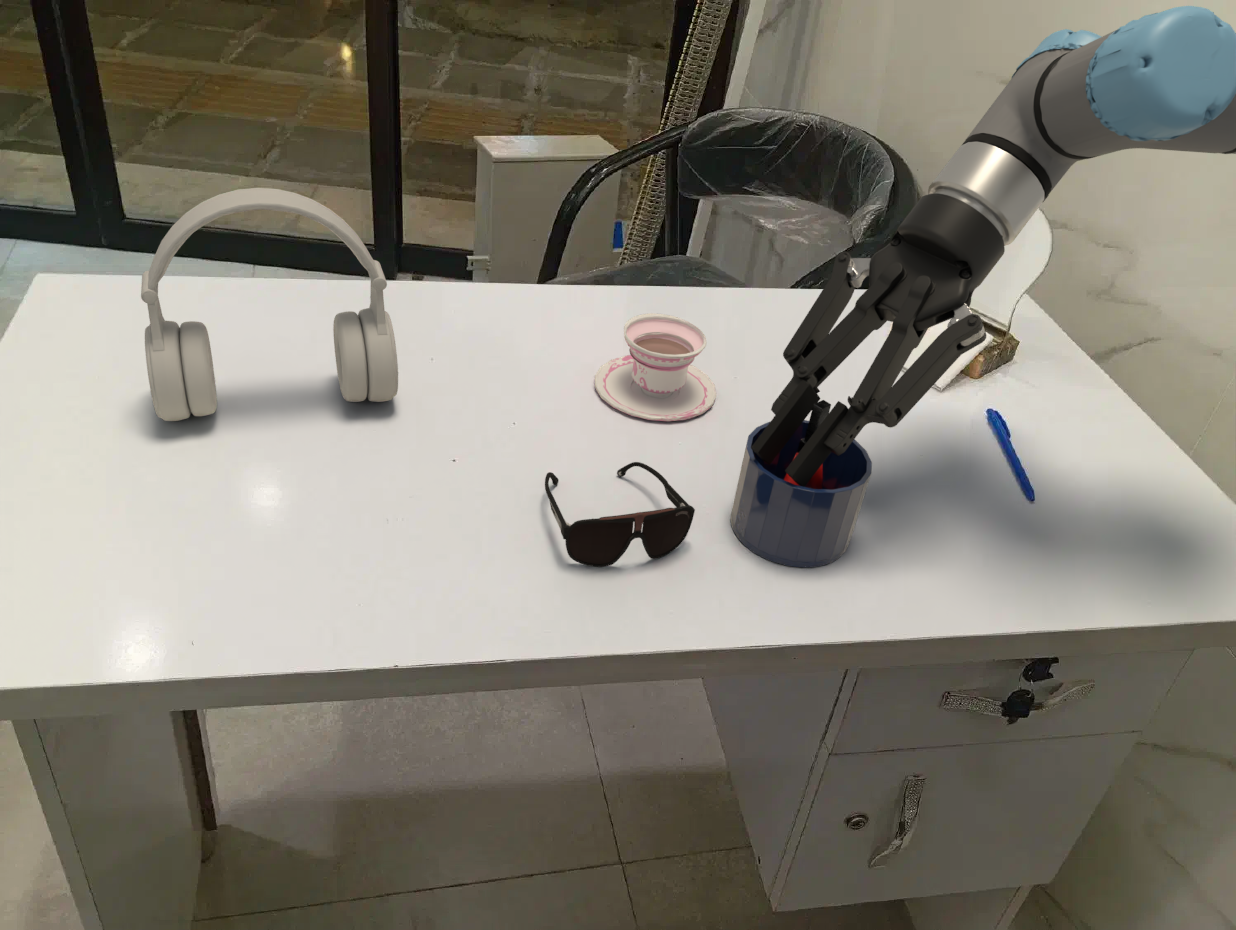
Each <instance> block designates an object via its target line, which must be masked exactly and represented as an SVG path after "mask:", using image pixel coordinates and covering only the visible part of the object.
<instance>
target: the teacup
mask: <svg viewBox="0 0 1236 930" xmlns="http://www.w3.org/2000/svg"><path fill="white" fill-rule="evenodd" d="M623 337H624V341H625V342H626V344H627V346H628V347H629V350H628V351H629V354H628V355H623V356H620V357H616V358H613V359H611V360H609V361H608V362H606V363H604V364H603V365H601V366H600V367H599V369H598V370H597V372H596V373H595V375H594V389H595V390H596V392H597V394H598V396H599V397H600V398H601V399H602V400H603V401H604V402H606V404H608V405H609V406H611V407H612V409H615V410H618V411H620V412H622V413H624V414H626V415H629V416H632V417H635V418H639V419H644V420H648V421H659V422H675V421H687V420H689V419H693V418H696V417H697V416H702V415H703V414H704V413H706V412H707V411H708V410H709V409H711V408H712V407H713V405H714V403H715V401H716V398H717V391H716V385H715V384H714V382H713V380H711V379H710V377H709V375H707V373H705V372H704V371H702V370H701V369H700V368H698V367H696V366H694V365H693V364H692V363H693V362H694V361H695V359H696V357H698V356H699V355H700V354H701V353H702V352H703V351H704V350H705V348H706V347H707V343H708V342H707V337H706V336H705V334H704V333H703V331H702V330H701V329H700V328H699V327H697V326H696V325H695V324H693V323H691V322H690V321H688V320H685V319H683V318H680V317H678V316H674V315H670V314H665V313H652V312H651V313H642V314H638V315H635V316H632V317H631V318H629V319H628V320H627V321H626V322H625V324H624V326H623Z"/></svg>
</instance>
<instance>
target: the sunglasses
mask: <svg viewBox="0 0 1236 930" xmlns="http://www.w3.org/2000/svg"><path fill="white" fill-rule="evenodd" d="M634 467H639V468H641V469H644V470H645V471H647V472H649V473H650V474H651V475H653V476H654V477H655V478H656V479H657V480H658V481H660V482H661V484H662V486H663V487H664V490H665V494H666V497H667V499H668V500H669V501H670V502H671V503H672V504H673V505H674V506H675V507H667V508H662V509H661V508H660V509H655V510H647V511H638V512H632V513H626V514H619V515H608V516H601V517H599V518H598V517H597V518H587V519H586V518H585V519H580V520H576V521H574V522H573V523H572V524H571V523H569V522H567V521H566V519H565V518H564V516H563V514H562V512H561V509H560V508H559V505H558V504H557V501H556V499H555V497H554V495H553V494H552V491H551V489H550V484H549V482H550V479H551V483H552V485H553V486H557V485H558V484H559V478H558V477H557V475H555V474H554V473H553V472H547V473H546V475H545V478H544V490H545V493H546V495H547V498H548V501H549V505H550V510H551V513H552V514H553V517H554V519H555V521H556V523H557V525H558V527H559V530H560V534H561V536H562V539H563V540H565V548H566V552H567V555H568V557H569V558H570V559H571V560H573V561H574V562H576V563H579V564H581V565H583V566H588V567H593V568H605V567H609V566H612V565H614V564H616V562H618V561H619V559H621V557H623V555H624V554H625V553H626V551H627V550H628V548H629V546H630V545H631V542H633V540H635V539H640V540H641V543H642V546H643V548H644V550H645V552H646V554H647V557H648V558H650V559H652V560H656V559H657V560H658V559H660V558H663V557H666V556H667V555H669V554H670V553H672V552H674V550H676V549H677V548H678V547H679V546H680V545H682V543H683V542H684V540H686V537H687V535H688V533H689V532H690V529H691V526H692V523H693V520H694V515H695V511H696V509H695V508H694V507H693V506H692V505H690V504H689V503H688V502H687V501H686V500H685V499H684V498H683V497H682V495H680V494H679V493H678V492H677V490H675V489H674V488H673V486H672V485H670V483H669V482H668V480H667V479H666V478H665V477H664V475H662V474H661V473H660V472H658V471H657V470H656V469H654V468H653V467H651V466H650V465H648V464H645V463H643V462H641V461H632V462H630V463H628V464H626V465H624V466H622V467H621V468H619V469H618V470H617V472H616V475H617V477H619V478H622V477H625V475H626V473H627V471H629V470H630V469H631V468H634Z"/></svg>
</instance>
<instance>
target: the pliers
mask: <svg viewBox="0 0 1236 930" xmlns="http://www.w3.org/2000/svg"><path fill="white" fill-rule="evenodd" d="M831 406H832V404H831V403H830V402H828V401H826V400H825V399H822V400H819V401H818V402H817V403H815V404H814V405H813V408H812V410H811V412H810V417H809V420H808V421H809V424H808V428H807V432H806V435H805V438H804V439H802V440H800V443H799V447H798V451H797V453H796V454H795V457H796V456H797V454H798V453H799V452H800V451H801V449H802V448H803V447H804V445H805V444H806V443H807V441H808V440H809V439H810V437H811V436H812V435H813V434H814V432H815V431H816V430H817V428H818V427H819V426H820V424H821V423H822V422H823V420H824V419H825V418H826V417H827V415H828V414H829V413H830V411H831ZM795 457H794V458H795ZM793 460H794V459H793ZM822 471H823V464H822V465H821V466H820V467H819V469H818V470H817V471H816V473H815V474H814V475H813V477H812V478H811V479H810V481H809V482H808V483H807V484H806V486H805V487H807V488H812V489H822ZM784 480H785V481H787V482H790V483H792V484H794V485H798V484H797V483H796V482H795V481H794V480H793V479H792V478H791V477H790V476H789V475H788V474H786V476H785V478H784ZM798 486H800V485H798Z"/></svg>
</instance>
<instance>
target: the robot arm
mask: <svg viewBox="0 0 1236 930" xmlns="http://www.w3.org/2000/svg"><path fill="white" fill-rule="evenodd" d="M1131 149H1132V150H1133V149H1145V150H1162V151H1175V152H1188V153H1189V152H1191V153H1205V154H1223V155H1232V154H1233V155H1236V31H1235V30H1234V28H1233V27H1232V25H1231V24H1230V23H1228V22H1226V21H1224V20H1222V19H1221V18H1220V17H1219V16H1217V15H1216V14H1215V12H1214V11H1212V10H1211V9H1209V8H1207V7H1202V6H1197V5H1196V6H1195V5H1182V6H1176V7H1175V6H1174V7H1172V8H1171V7H1170V8H1168V9H1166V10H1162V11H1160V12H1155V13H1151V14H1145V15H1143V16H1141V17H1140V18H1139V19H1132V20H1130V21H1128V22H1127V23H1126V24H1125V25H1122V26H1119V28H1117V29H1115V30H1113V31H1111V32H1109V33H1107V34H1105V35H1100V34H1098V33H1095V32H1093V31H1091V30H1090V31H1089V30H1086V29H1079V30H1077V31H1073V30H1071V29H1067V28H1065V29H1060V30H1057V31H1055V32H1052V33H1050V34H1049V35H1048V36H1046V37H1045V38H1044V39H1043V40H1042V41H1041V42H1040V43H1039V44H1038V46H1037V47H1036V48H1035V49H1034V50H1033V52H1031V54H1029V56H1028V57H1025V59H1023V60H1022V61H1021V63H1019V65H1018V66H1017V67H1016V68H1015V72H1014V73H1013V74H1012V76H1011V78H1010V80H1009V81H1008V82H1007V84H1006V85H1005V86H1004V88H1003V89H1002V90H1001V92H1000V93H999V95H997V97H996V98H995V100H994V101H993V102H992V103H991V105H990V107H988V109H987V111H986V112H985V113H984V114H983V116H982V117H981V118H980V120H979V121H978V123H976V125H975V127H974V128H973V129H972V131H971V132H970V133H969V134H968V136H967V137H966V138H965V139H964V141H963V142H962V144H961V145H960V146H959V147H958V148H957V150H956V151H955V153H954V154H953V155H952V156H951V158H950V159H949V160H948V162H946V164H945V166H944V167H942V169H941V171H940V172H939V173H938V174H937V175H936V177H935V178H934V179H933V181H932V182H931V183H930V184H929V186H928V189H927V193H928V194H924V195H923V196H921V197H920V199H918V201H917V202H916V204H915V205H914V206H913V207H912V208H911V210H910V211H909V212H908V214H907V215H906V216H905V218H904V219H903V221H902V222H901V223H900V224H899V226H898V227H897V228H896V231H895V233H894V235H893V237H892V238H891V240H890V242H889V243H888V244H887V245H886V246H885V247H883V248H881V249H879V250H877V251H876V252H875V253H874V254H873V255H872V256H871V257H852V256H851V254H850V252H849V251H840V252H839V253H837V254H836V256H835V259H834V263H833V267H832V271H831V274H830V278H829V279H828V281H827V283H826V284H825V286H824V287H823V289H822V290H821V292H820V293H819V294H818V297H817V298H816V300H815V301H814V303H813V304H812V306H811V308H809V311H808V312H807V314H806V315H805V317H804V319H803V320H802V322H801V323H800V325H799V326H798V328H797V329H796V331H795V332H794V333H793V336H792V338H791V339H790V341H789V342H788V344H787V345H786V346H785V348H784V350H783V352H782V357H783V359H784V360H785V362H786V363H787V364H788V366H790V368H791V370H792V372H793V375H792V378H791V379H790V381H788V383H787V384H786V386H785V387H784V388H783V390H782V391H781V392H780V394H779V395H778V396H777V398H776V399H775V400H774V401H773V403H772V404H771V408H770V411H771V412H772V413H773V415H774V416H773V418H772V419H771V420H770V421H771V422H770V421H769V422H770V423H769V424H768V426H767V427H766V428H765V430H764V431H763V432H762V434H761V435H760V436H759V438H758V439H757V440H756V442H755V443H754V444H753V445H752V447H751V449H752V450H753V451H754V452H755V453H756V454H757V455H758V456H759V457H760V458H761V459H762V460H763V461H764V462H766V463H767V464H769V465H770V464H771V463H772V462H773V460H774V459H775V458H776V456H777V455H778V454H779V452H780V451H781V450H782V448H783V447H784V446H785V445H786V443H787V442H788V441H789V439H790V438H791V437H792V435H793V434H794V433H795V431H796V430H797V429H798V427H799V426H800V425H801V423H802V422H803V421H804V420H806V418H807V417H808V416H809V415H810V414H811V412H812V408H813V405H814V404H815V403H817V402H820V401H821V397H820V395H819V394H818V393H820V392H821V391H820V389H819V386H821V385H822V384H823V382H825V380H826V379H828V377H829V376H830V375H831V374H832V373H833V372H834V371H835V370H836V369H837V368H838V367H839V366H841V364H842V363H843V362H844V361H845V360H846V359H847V358H848V357H849V356H850V355H851V354H852V353H853V352H854V351H855V350H856V349H857V348H858V346H860V345H861V344H862V343H863V342H864V341H865V340H866V339H867V338H868V337H869V336H870V334H872V332H874V331H878V330H880V329H881V328H882V327H883V326H884V325H885V324H886V323H887V322H890V323H892V324H891V330H890V332H889V334H888V335H887V337H886V338H885V341H884V342H883V344H882V346H881V347H880V349H879V351H878V352H877V354H876V356H875V357H874V359H873V361H872V363H871V365H870V367H869V368H868V370H867V371H866V374H865V375H864V378H863V379H862V380H861V382H860V383H859V385H858V388H857V389H856V391H855V393H854V395H853V396H850V395H848V397H847V403H848V405H849V407H848V406H847V405H846V404H844V403H842V402H841V401H840V400H838V401H837V402H836V403H835V405H834V406H833V407H832V409H830V411H829V414H828V415H827V417H826V418H825V419H824V420H823V422H822V423H821V424H820V426H819V427H818V428H817V430H816V431H815V432H814V434H813V435H812V436H811V437H810V439H809V440H808V441H807V443H806V444H805V445H804V447H803V448H802V449H801V451H800V452H799V453H798V454H797V456H796V457H795V458H794V460H793V461H792V462H791V464H790V465H789V466H788V468H787V469H786V470H785V472H786V473H787V474H788V475H789V476H790V477H791V478H792V479H793V480H794V481H795V482H796V483H797V484H798V485H800V486H803V487H805V486H806V484H807V483H808V482H809V481H810V479H811V478H812V477H813V475H814V474H815V473H816V471H817V470H818V469H819V467H820V466H821V465H822V464H823V462H824V461H825V460H826V458H827V457H828V456H829V454H830V453H831V452H833V453H834V454H836V455H838V456H839V455H841V454H842V453H844V452H845V451H846V449H847V448H848V447H849V445H850V444H851V443H852V441H853V440H854V439H855V440H856V438H857V436H858V435H859V434H860V433H861V431H862V430H863V428H864V427H866V426H867V425H868V424H871V423H876V424H879V425H880V424H881V425H884V426H885V427H887V428H895V427H896V426H897V425H898V424H899V423H900V422H901V421H902V420H903V419H904V418H905V417H906V415H908V414H909V412H910V411H911V410H912V409H913V408H914V407H915V406H916V405H917V404H918V403H919V402H920V400H921V399H922V398H923V397H924V396H925V395H926V394H927V393H928V392H929V391H930V390H931V388H932V387H933V386H934V385H935V384H936V383H937V382H938V381H939V380H940V379H941V378H942V376H943V375H944V374H945V373H946V372H947V371H948V370H949V369H950V368H951V367H952V366H953V364H954V363H956V361H957V360H958V359H959V358H960V357H961V356H962V355H963V354H965V353H967V352H969V351H970V350H972V349H974V348H975V347H977V346H979V345H981V344H982V343H984V342H985V340H986V339H987V332H986V329H985V327H984V323H983V320H982V318H981V316H979V314H976V313H974V312H973V311H972V310H971V308H970V307H971V303H972V296H973V295H974V294H973V293H974V292H975V290H976V289H977V288H978V287H980V286H981V285H982V284H983V282H984V281H985V279H986V278H987V277H988V275H989V274H990V272H991V271H992V270H993V269H994V268H995V266H996V265H997V264H998V263H999V261H1000V260H1001V259H1002V257H1003V256H1004V254H1005V251H1006V250H1005V246H1009V245H1011V244H1012V243H1013V242H1015V239H1016V238H1017V237H1018V236H1019V234H1020V233H1021V231H1022V230H1023V229H1024V228H1025V227H1026V225H1027V224H1028V223H1029V221H1030V220H1031V218H1032V217H1033V216H1034V215H1035V213H1036V212H1037V210H1038V209H1039V208H1040V206H1041V205H1042V204H1043V203H1045V201H1046V199H1048V197H1049V195H1050V193H1051V192H1052V191H1053V189H1054V188H1055V187H1056V186H1057V185H1058V184H1059V182H1060V181H1061V180H1062V178H1063V177H1064V176H1065V175H1066V174H1067V172H1068V171H1069V169H1070V168H1071V167H1072V166H1073V165H1074V164H1075V163H1077V162H1079V161H1083V160H1084V161H1085V160H1089V159H1093V158H1096V157H1101V156H1104V155H1108V154H1112V153H1115V152H1119V151H1123V150H1131ZM867 277H868V288H867V289H866V290H865V291H864V292H863V293H862V294H861V295H860V296H859V297H858V298H857V300H856V302H855V304H854V307H853V308H852V310H851V311H850V312H848V313H847V314H846V316H845V317H844V318H842V320H841V321H840V322H839V323H838V324H837V325H836V323H837V322H838V320H839V318H840V317H841V315H842V313H843V312H844V310H845V309H846V307H847V306H848V304H849V302H850V300H851V299H852V297H853V295H854V293H855V289H856V288H857V289H859V288H861V287H862V284H863V281H864V280H865V279H866V278H867ZM947 321H948V323H947V325H946V326H947V328H945V329H944V330H943V331H941V333H939V335H938V336H936V338H935V339H934V340H933V341H932V342H931V343H930V345H928V346H927V347H926V349H924V351H923V352H922V353H921V354H920V356H918V358H917V359H916V360H915V361H914V362H913V363H912V364H911V365H910V366H909V367H908V368H907V370H906V371H904V373H903V374H902V375H901V376H900V377H899V375H900V373H901V371H902V370H903V368H904V366H905V364H906V363H907V361H908V359H909V357H910V356H911V354H912V352H913V351H914V349H917V348H918V347H919V345H920V344H921V342H922V340H923V338H924V337H925V335H926V334H927V331H928V330H929V328H933V327H934V326H937V325H939V324H941V323H942V324H943V323H945V322H947ZM898 377H899V378H898Z"/></svg>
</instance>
